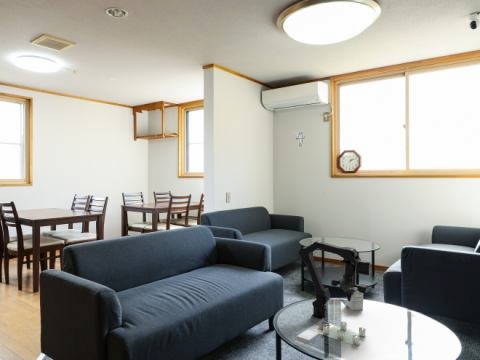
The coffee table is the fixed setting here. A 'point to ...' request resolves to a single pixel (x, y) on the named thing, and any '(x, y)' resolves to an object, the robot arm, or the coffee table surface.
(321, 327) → the gear
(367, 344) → the coffee table surface
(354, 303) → the supplement box
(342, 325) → the spacer field
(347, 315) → the coffee table surface
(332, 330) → the mat
